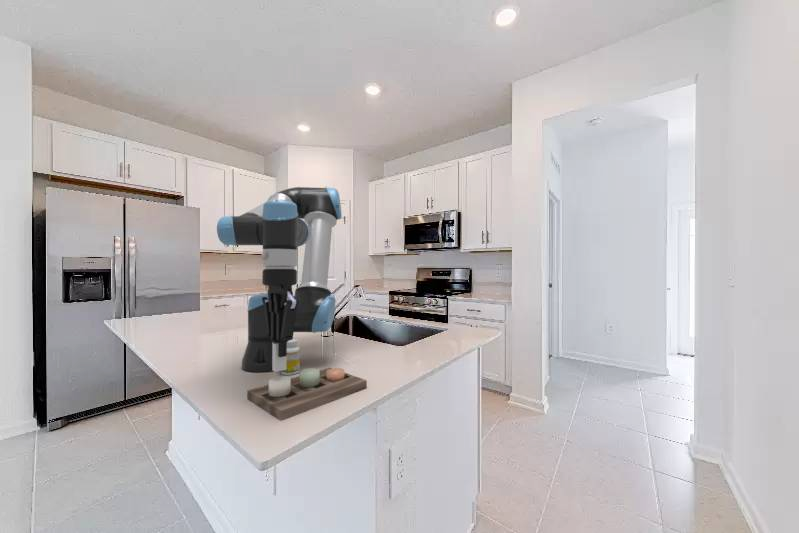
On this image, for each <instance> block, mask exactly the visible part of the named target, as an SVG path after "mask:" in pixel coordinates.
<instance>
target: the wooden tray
mask: <svg viewBox="0 0 799 533" xmlns="http://www.w3.org/2000/svg"><path fill="white" fill-rule="evenodd" d="M329 369H332V367H326V368H322V369H319V370H320V383H319V384H318V385H316V386H312V387H303V386H300V375H298V376H295V377H292V378H291V377H290V378H291V392H290V393H289V394H287V395H285V396H280V397H272V396H270V395H269V384H266V385H263V386H259V387H256V388H252V389H249V390H247V391H246V393H247V394H246V396H247V397H246V399H247V400H248V401H250V402H251V403H253V404H254V405H255V406H257V407H259V408H261V409H262V410H264V411H266V412H267V413H269V414H270V415H272V416H273V417H275V418H276V419H278V420H279V421H284V420H286V419H288V418H291V417H294V416H296V415H300V414H302V413H304V412H308V411H309V410H312V409H316V408H317V407H320V406H322V405H326V404H329V403H331V402H333V401H337V400H339V399H341V398H344V397H347V396H349V395H352V394H354V393H358V392H360V391H363V390H365V389H367V388H368V387H367V386H368V384H367V382H368V381H367V379H364V378H361V377H358V376H355V375H353V374H350V373H348V372H345V379H343V380H340V381H337V382H334V383H332V382H330V381H327V380H326V371H327V370H329ZM312 388H313V389H312ZM308 389H311V390H308ZM305 390H308V391H305ZM283 397H286V398H283ZM280 398H282V399H280ZM277 399H280V400H277ZM274 400H276V401H275V402H274Z"/></svg>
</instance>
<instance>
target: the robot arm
mask: <svg viewBox="0 0 799 533" xmlns="http://www.w3.org/2000/svg"><path fill="white" fill-rule="evenodd" d="M341 204H342V203H341V198H340V193H339V191H338V189H337V188H334V187H327V186H325V187H310V186H308V187H306V186H305V187H299V186H297V187H289V188H287V189H284V190H280V191H278V192H276V193H273V194H271V195H270V196H269V197H268V199H267V201H265V202H263V203H261V204H260V205H258V206H256V207H254V208H252V209H250V210H248V211H245V213H243V214H241V215H238V216H237V215H235V216H234V215H229V216H221V217H220V218H219V219H218V221H217V225H216V234H217V237H218V240H219V242H220V243H222V244H223V245H226V246H235V247H238V246H262V253H261V254H260V256H261V258H262V266H263V267H265V269H263V270H262V276H261V278H262V279H261V280H262V283H261V284H262V285H263V286H268V289H267V293H260V294H256V295H252V296H250V298H249V299H248V303H247V304H248V307H247V344H246V347H245V350H244V354H243V356H242V359H241V369H242V370H244V371H246V372H250V373H251V372H253V373H263V372H264V373H267V372H275V373H278V372H281V371H282V370H286V369H287V342H288V341H289V340H292V339H294V333H313V334H314V333H315V334H316V333H323V332H324V333H325V332H327V331H329V330H330V328H331V327H332V325H333V321H334V317H335V312H336V298H335V296H334V295H332V291H331V289H330V288H328V278H329V267H330V258H331V257H330V255H331V246H332V245H331V242H332V233H333V231H332V230H333V228H334V227H335V226H337V223H338V222H337V221H338V220H341V219H342V214H343V213H342V205H341ZM302 246H304V254H303V261H302V262H303V264H302V273H301V281H300V282H301V283H300V284H299V286H297V287H296V288H295V291H294V292H293V288H292V287H293V286H295V285H297V283H298V270H297V269H295V268H296V267H298V247H302Z"/></svg>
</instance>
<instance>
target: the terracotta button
mask: <svg viewBox="0 0 799 533" xmlns="http://www.w3.org/2000/svg"><path fill="white" fill-rule="evenodd" d="M331 368H332V367H331ZM345 373H346V372H345V369H344V368H340V367H333V368H332V369H329V370H327V371H326V380H327V381H330V382H332V383H334V382H337V381H340V380H343V379H345Z"/></svg>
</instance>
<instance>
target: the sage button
mask: <svg viewBox="0 0 799 533" xmlns="http://www.w3.org/2000/svg"><path fill="white" fill-rule="evenodd" d="M320 370H321V369H318V368H315V367H313V368H312V367H311V368H304V369H302V370H300V371H299V376H300V386H303V387H311V388H313V387H312V386H316V385H318V384H319V383H320Z"/></svg>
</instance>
